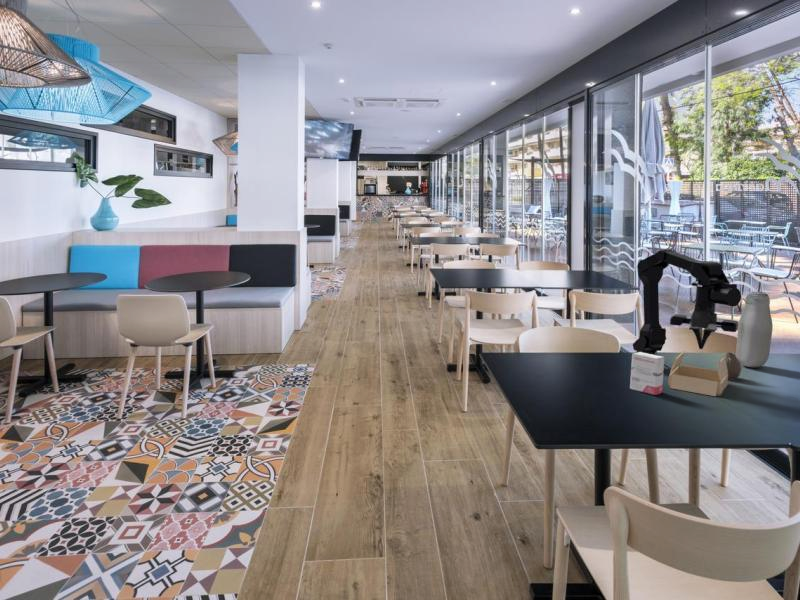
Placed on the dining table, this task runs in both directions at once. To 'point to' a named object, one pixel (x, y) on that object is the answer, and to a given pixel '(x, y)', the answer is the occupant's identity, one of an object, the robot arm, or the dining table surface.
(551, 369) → the dining table surface
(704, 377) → the carton
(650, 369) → the ink box
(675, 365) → the flap left
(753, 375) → the dining table surface
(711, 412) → the dining table surface
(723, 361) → the flap right
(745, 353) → the grey bottle
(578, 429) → the dining table surface
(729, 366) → the vase
